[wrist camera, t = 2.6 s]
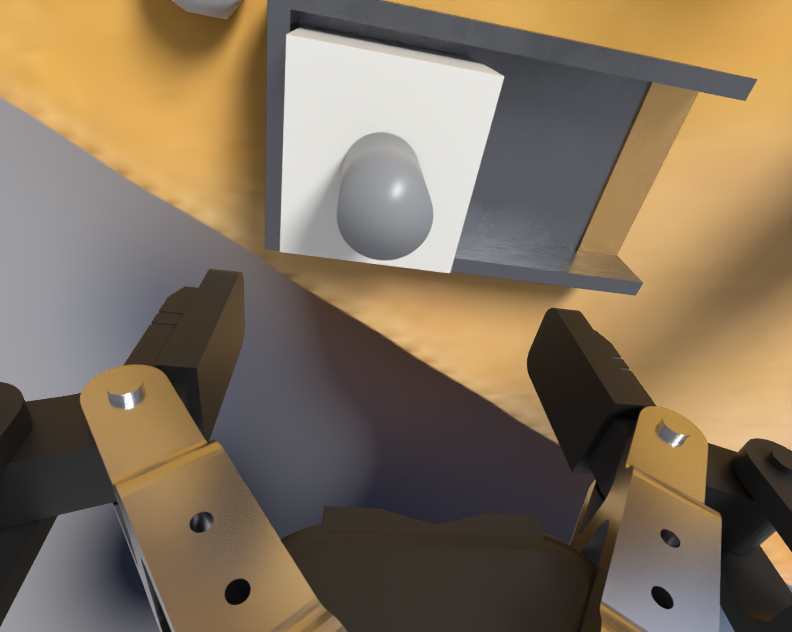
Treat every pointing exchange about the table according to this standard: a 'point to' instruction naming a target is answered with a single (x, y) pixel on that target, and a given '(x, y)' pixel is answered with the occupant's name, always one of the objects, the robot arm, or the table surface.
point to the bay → (528, 137)
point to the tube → (210, 7)
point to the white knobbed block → (380, 148)
